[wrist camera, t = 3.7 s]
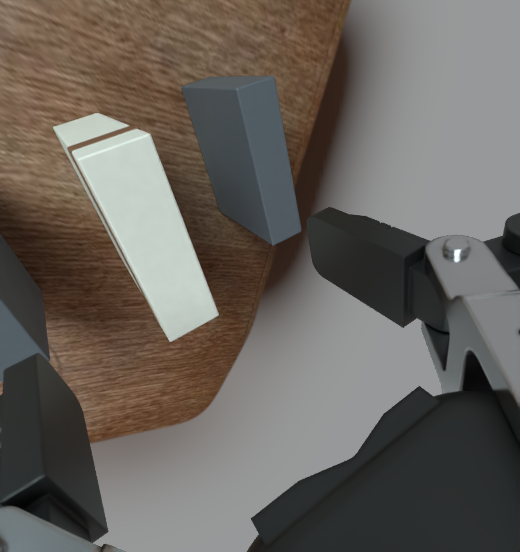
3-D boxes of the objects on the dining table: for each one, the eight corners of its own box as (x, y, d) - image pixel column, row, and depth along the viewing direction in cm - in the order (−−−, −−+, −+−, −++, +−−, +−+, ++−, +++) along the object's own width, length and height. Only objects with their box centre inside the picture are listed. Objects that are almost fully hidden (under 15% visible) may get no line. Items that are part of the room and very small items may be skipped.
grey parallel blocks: (211, 76, 22) (274, 75, 16) (243, 200, 26) (302, 231, 21) (-101, 175, 17) (-157, 220, 11) (7, 308, 21) (3, 385, 16)
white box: (98, 111, 19) (151, 130, 12) (156, 241, 24) (221, 316, 16) (51, 126, 19) (74, 157, 11) (119, 257, 23) (169, 344, 16)
